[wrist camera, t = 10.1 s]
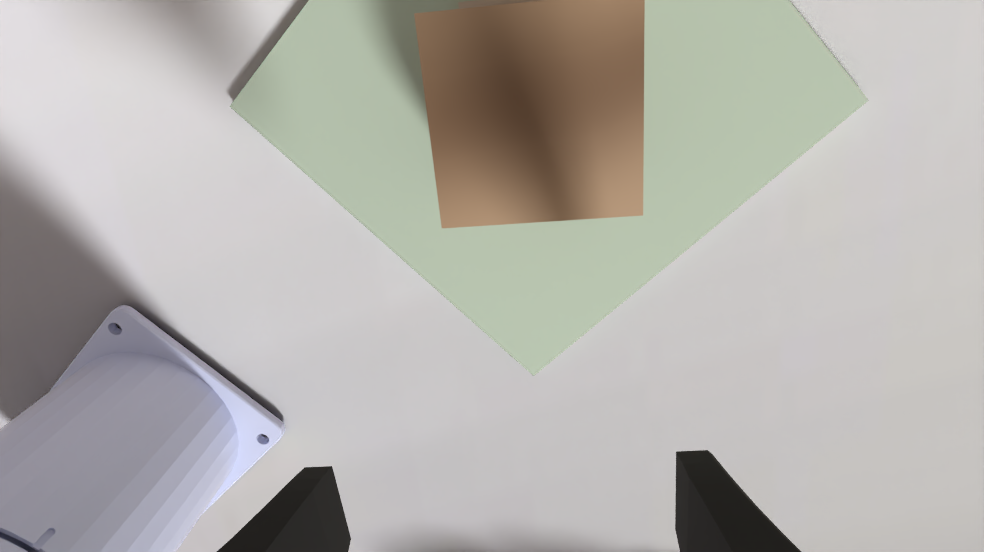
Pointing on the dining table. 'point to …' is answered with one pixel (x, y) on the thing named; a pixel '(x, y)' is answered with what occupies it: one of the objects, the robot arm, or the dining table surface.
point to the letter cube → (535, 109)
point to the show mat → (557, 244)
